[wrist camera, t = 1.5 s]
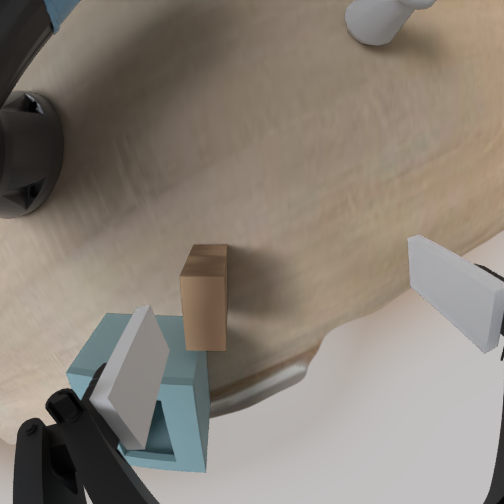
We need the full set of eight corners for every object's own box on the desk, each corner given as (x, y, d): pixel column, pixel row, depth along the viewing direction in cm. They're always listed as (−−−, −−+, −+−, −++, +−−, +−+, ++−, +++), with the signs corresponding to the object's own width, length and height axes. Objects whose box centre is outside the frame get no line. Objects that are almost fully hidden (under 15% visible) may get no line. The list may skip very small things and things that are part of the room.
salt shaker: (392, 50, 27) (459, 15, 15) (347, 52, 27) (404, 8, 15) (376, 7, 25) (433, -40, 13) (332, 8, 26) (377, -51, 13)
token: (196, 304, 35) (186, 350, 26) (193, 244, 33) (179, 276, 24) (227, 304, 35) (226, 351, 27) (226, 244, 33) (224, 276, 24)
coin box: (127, 397, 39) (105, 460, 27) (106, 313, 35) (65, 372, 23) (210, 403, 40) (205, 472, 28) (203, 316, 35) (192, 385, 24)
